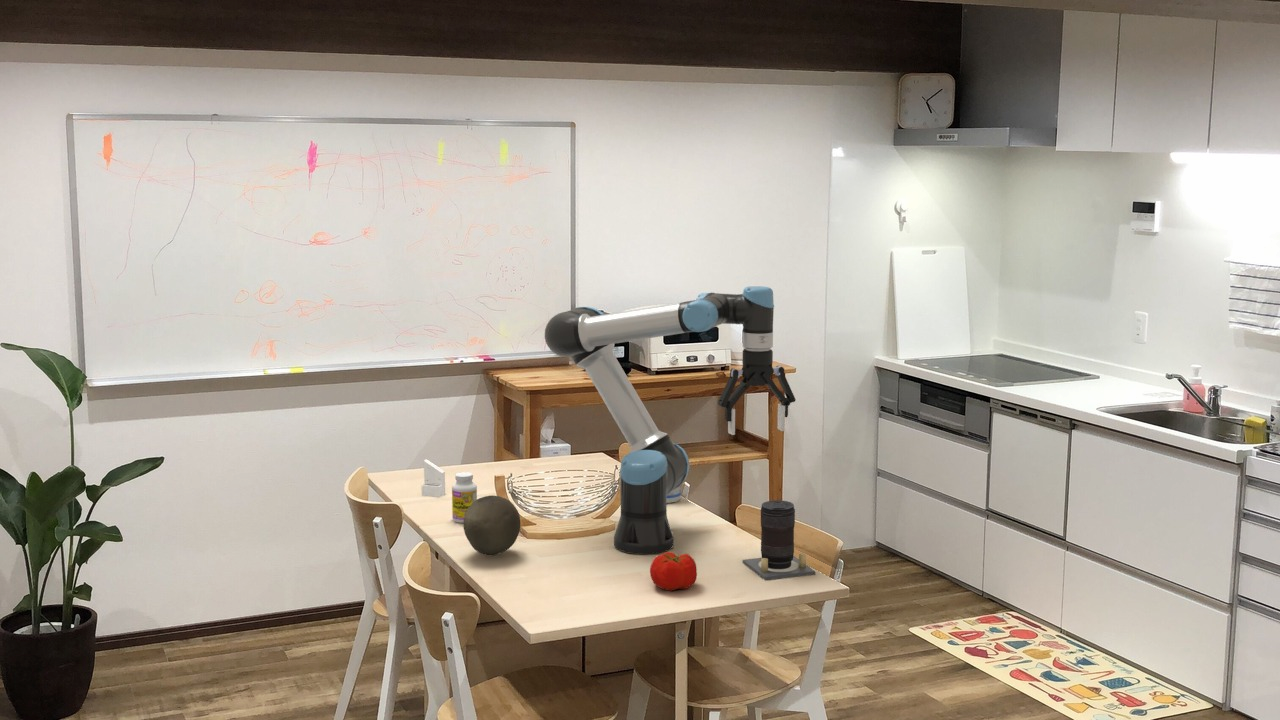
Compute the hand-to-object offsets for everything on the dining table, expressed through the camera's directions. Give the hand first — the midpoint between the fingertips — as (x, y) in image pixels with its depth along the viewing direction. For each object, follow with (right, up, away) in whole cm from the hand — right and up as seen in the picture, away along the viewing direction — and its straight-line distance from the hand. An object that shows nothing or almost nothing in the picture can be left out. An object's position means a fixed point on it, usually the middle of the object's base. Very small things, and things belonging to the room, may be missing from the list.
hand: (756, 432), depth 311 cm
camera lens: (+3, -31, -16) cm, 35 cm away
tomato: (-22, -34, -28) cm, 49 cm away
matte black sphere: (-66, -30, -6) cm, 73 cm away
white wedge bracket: (-90, -21, +48) cm, 104 cm away
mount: (+4, -32, -16) cm, 36 cm away
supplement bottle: (-77, -25, +23) cm, 84 cm away
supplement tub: (-22, -22, +43) cm, 53 cm away
